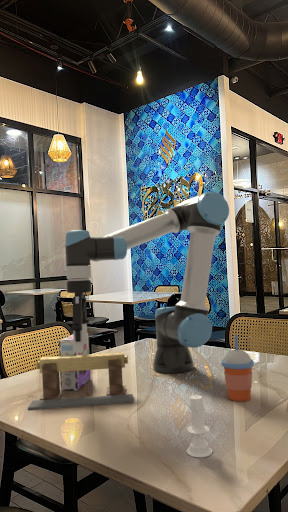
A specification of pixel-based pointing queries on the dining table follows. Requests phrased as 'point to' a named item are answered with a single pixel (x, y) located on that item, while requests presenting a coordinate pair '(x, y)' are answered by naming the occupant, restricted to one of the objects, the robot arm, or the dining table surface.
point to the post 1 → (51, 383)
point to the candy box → (73, 378)
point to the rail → (82, 361)
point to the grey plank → (81, 401)
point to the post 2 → (115, 379)
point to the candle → (198, 429)
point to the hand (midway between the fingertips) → (81, 348)
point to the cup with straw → (238, 373)
